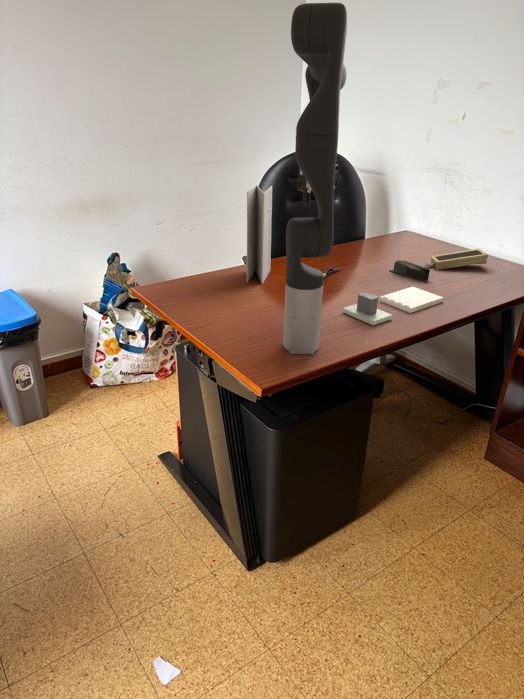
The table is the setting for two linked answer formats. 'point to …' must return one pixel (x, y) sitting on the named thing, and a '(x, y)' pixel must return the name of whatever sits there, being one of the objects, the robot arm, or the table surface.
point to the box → (458, 259)
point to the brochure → (259, 232)
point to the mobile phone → (411, 270)
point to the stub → (367, 310)
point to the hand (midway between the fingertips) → (317, 204)
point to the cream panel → (411, 299)
